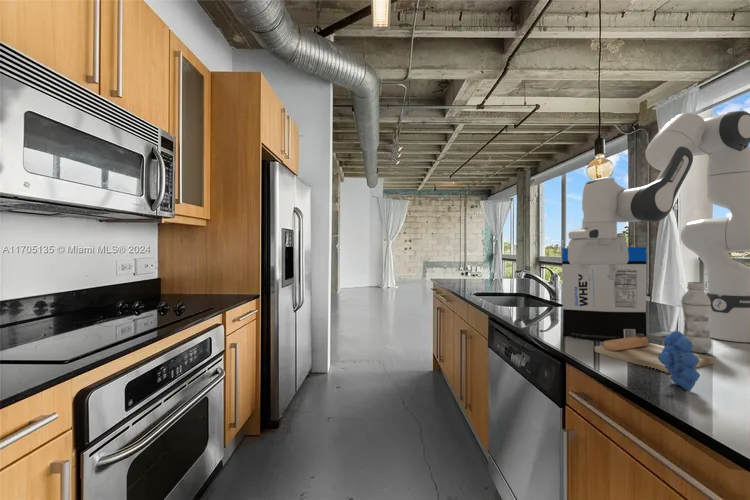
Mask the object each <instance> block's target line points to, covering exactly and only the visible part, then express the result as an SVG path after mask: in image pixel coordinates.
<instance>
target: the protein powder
mask: <svg viewBox="0 0 750 500" xmlns="http://www.w3.org/2000/svg"><path fill="white" fill-rule="evenodd" d="M561 251H562V255H561V258H562V259H561V260H562V262H561V263H562V265H561V268H562V269H561V274H562V276H561V278H562V279H561V281H562V307H563V308H562V336H563V337H568V338H571V339H572V338H573V339H577V340H584V341H591V342H603V343H604V341H608V340H615V339H622V338H628V337H633V336H636V334H638V333H639V334H644V337H647V334H648V333H647V252H646V251H647V247H646V246H645V247H644V246H642V247H638V246H637V247H635V246H633V247H628V254H629V261H628V262H627V264H619V268H618V270H617V272H616V274H615V280H608V279H607V278H606V277H607V276H606V274H608V273H609V270H610V268H609V264H601V265H589V269H588V272H589V274H590V275H591V280H590V281H584V280H583V279H582V273H581V271H580V269H579V265H571V264H570V263H569V261H568V247H562V248H561Z"/></svg>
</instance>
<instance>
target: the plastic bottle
mask: <svg viewBox="0 0 750 500" xmlns="http://www.w3.org/2000/svg"><path fill="white" fill-rule="evenodd" d="M686 289H688V290H687V291H686V292H685V293H684V294H683V296H682V297H681V300H680V302H681V308H682V315H683V330H682V331H683V332H682V334H683V335H684V336H685V337H686V338H687V339H688V340H689V341H690V342H691V343H692V344H693V345H694V346H693V348H692V350H691V351H690V352H692V353H695V354H706V353H707V354H708V353H710V351H711V350H712V345H713V343H712V338H711V337H709V336H710V335H709V327H708V320H709V311H710V305H711V301H710V299H709V297H708V296H707V293H706V292H705V291H704V290H705V289H706V288H705V282H701V281H687V286H686Z"/></svg>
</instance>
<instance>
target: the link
mask: <svg viewBox="0 0 750 500" xmlns="http://www.w3.org/2000/svg"><path fill="white" fill-rule="evenodd" d="M648 343H649V339H647V337H638V336H633V337H628V338H622V339H615V340H608V341H604V342H603V344H604V349H606V350H610V351H616V350H622V349H628V348H635V347H641V346H643V347H645V346H648Z"/></svg>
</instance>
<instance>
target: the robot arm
mask: <svg viewBox="0 0 750 500" xmlns="http://www.w3.org/2000/svg"><path fill="white" fill-rule="evenodd" d="M749 144H750V113H749V112H748V111H745V110H735V111H734V110H733V111H729V112H726V113H724V114H719V115H718V114H717V115H712V116H709V117H705V118H703V117H702V116H700V115H699V114H697V113H693V112H684V113H680V114H678V115H676V116H675V117H673V118H671V119H670V121H668V122H667V123H666V124H665V125H664V126H662V128H661V129H660V130H659V131H658V132H657V133H656V134H655V136H654V137H653V138H652V139H651V140H650V142H649V144H648V145H647V147H646V149H645V153H644V154H645V159H646V161H647V162H648V164H649V165H650V166H651V167H652V168H654V169H656V170H657V171H660V172H659V174H658V175H657V177H656V179H655V180H654V181H653V182H651V183H649V184H647V185H643V186H638V187H633V188H625V187H624V186H621V185H620V184H619V183H618V182H616V180H615V178H614V177H612V176H605V177H600V178H596V179H591V180H588V181H587V182H586V183H585V184H584V186H583V191H582V198H581V199H582V200H581V209H582V212H583V217H582V220H581V224H582V225H581V227H579V228H575V229H573V230H571V231H569V232H568V239H569V242H568V246H567V248H568V261H569V263H570V264H571V265H579V269H580V271H581V273H582V279H583V280H584V281H590V280H591V275H590V274H589V272H588V269H589V265H601V264H609V268H610V270H609V273H608V274H606V276H607V277H606V278H607V279H608V280H615V274H616V272H617V270H618V268H619V264H627V262H628V261H629V254H628V242H627V241H626V237H625V236H624V235H623V233H619V232H618V223H632V222H633V223H634V222H659V221H662V220H665V218H666V217H667V216H668V215H669V214H670V212H671V211H672V209H673V206H674V203H675V199H676V196H677V194H678V192H679V190H680V188H681V187H682V185H683V183H684V180H685V179H686V178H687V175H688V173H689V172H690V170H691V167H692V165H693V162H694V156H704V155H707V156H708V162H707V171H706V182H707V183H706V184H707V185H706V188H707V190H706V191H707V199H708V201H709V202H710V203H712V205H714V206H718V207H721V208H724V209H727V210H729V211H730V213H731V216H730V217H718V218H715V217H714V218H703V219H697V220H692V221H688V222H687V223H686V224H685V225H684V226H683V227H682V229H681V232H680V240H681V242H682V244H683V245H684V247H686V249H688V250H690V251H691V252H693V253H694V254H696V255H697V256H698V258H699V259H700V260H701V262H702V263H703V264H704V268H705V270H706V275H707V276H706V277H707V292H706V295H707V296H708V297H709V299H710V301H711V305H710V311H709V320H708V327H709V335H710V336H709V337H710V339H716V340H722V341H728V342H737V343H750V267H749V266H747V265H745V264H744V263H740V262H738V261H736V260H734V259H732V258H731V256H730V254H729V253H730V252H750V145H749Z"/></svg>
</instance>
